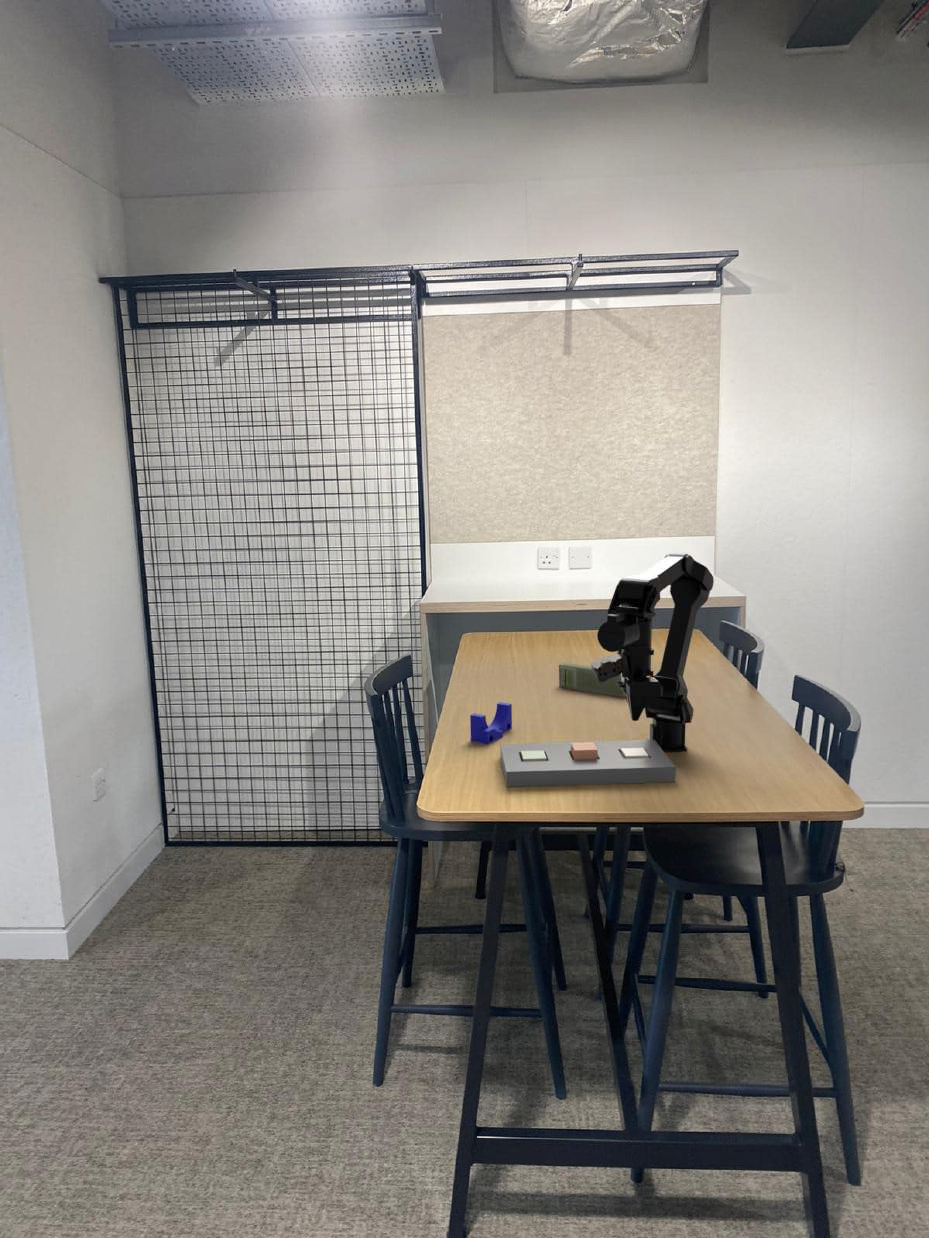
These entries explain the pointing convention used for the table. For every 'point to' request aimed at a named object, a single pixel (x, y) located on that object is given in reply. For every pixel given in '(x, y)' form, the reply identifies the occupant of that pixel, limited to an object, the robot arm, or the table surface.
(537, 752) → the sage key
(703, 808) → the table surface
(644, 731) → the table surface
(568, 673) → the handheld radio
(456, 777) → the table surface
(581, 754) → the peach square block
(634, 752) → the cream key
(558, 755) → the keypad
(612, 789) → the table surface
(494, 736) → the cable clip
